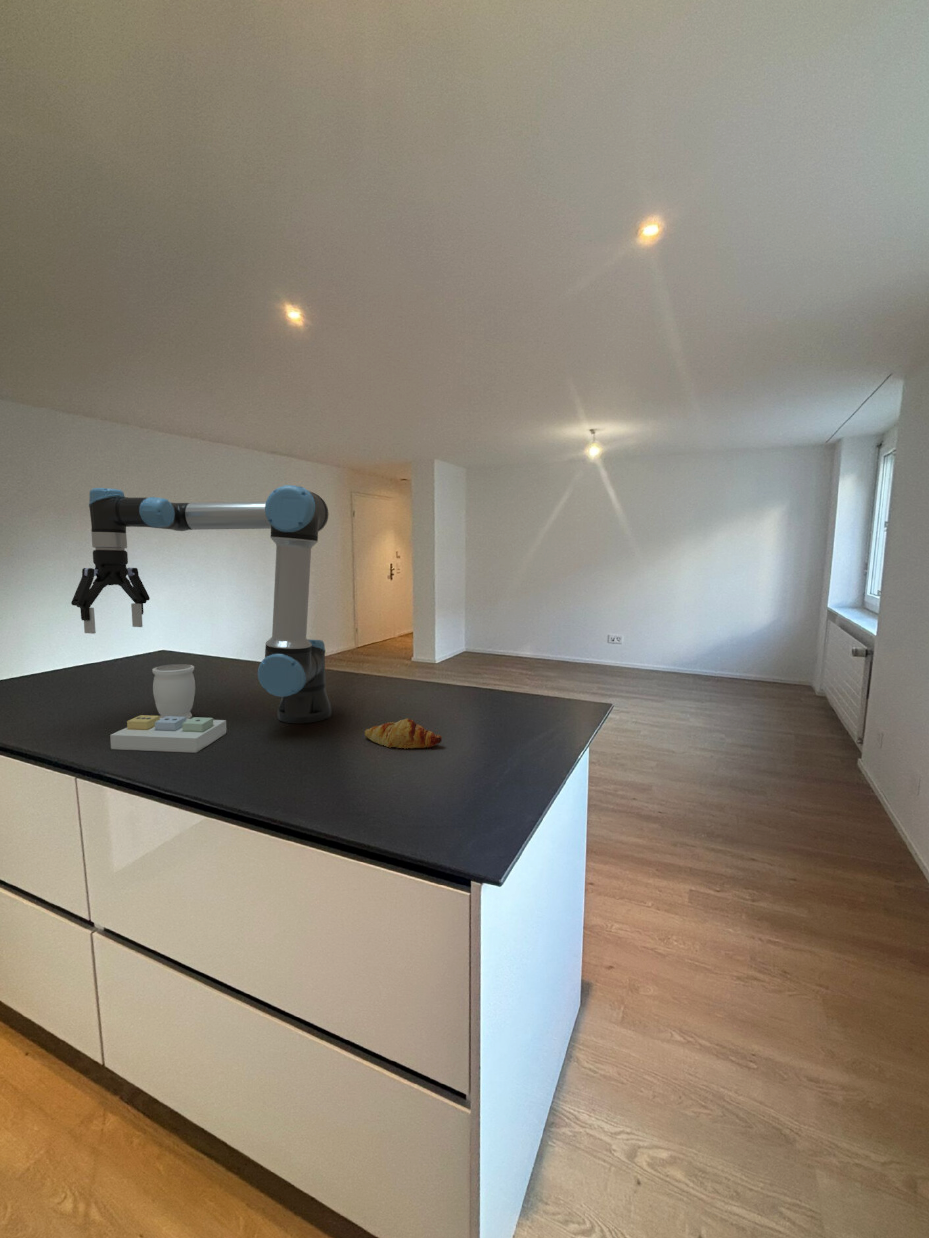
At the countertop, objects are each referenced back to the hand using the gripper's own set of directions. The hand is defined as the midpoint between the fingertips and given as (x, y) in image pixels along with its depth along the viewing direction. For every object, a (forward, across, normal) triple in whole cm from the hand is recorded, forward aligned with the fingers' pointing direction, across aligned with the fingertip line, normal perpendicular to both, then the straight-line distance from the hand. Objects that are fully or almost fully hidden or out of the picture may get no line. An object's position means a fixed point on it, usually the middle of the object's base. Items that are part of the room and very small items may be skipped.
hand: (115, 630), depth 136 cm
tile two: (+24, +4, +22) cm, 33 cm away
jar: (+27, -10, +8) cm, 30 cm away
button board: (+26, +4, +22) cm, 34 cm away
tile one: (+24, +3, +28) cm, 37 cm away
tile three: (+24, +6, +15) cm, 29 cm away
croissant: (+28, -14, +77) cm, 83 cm away
